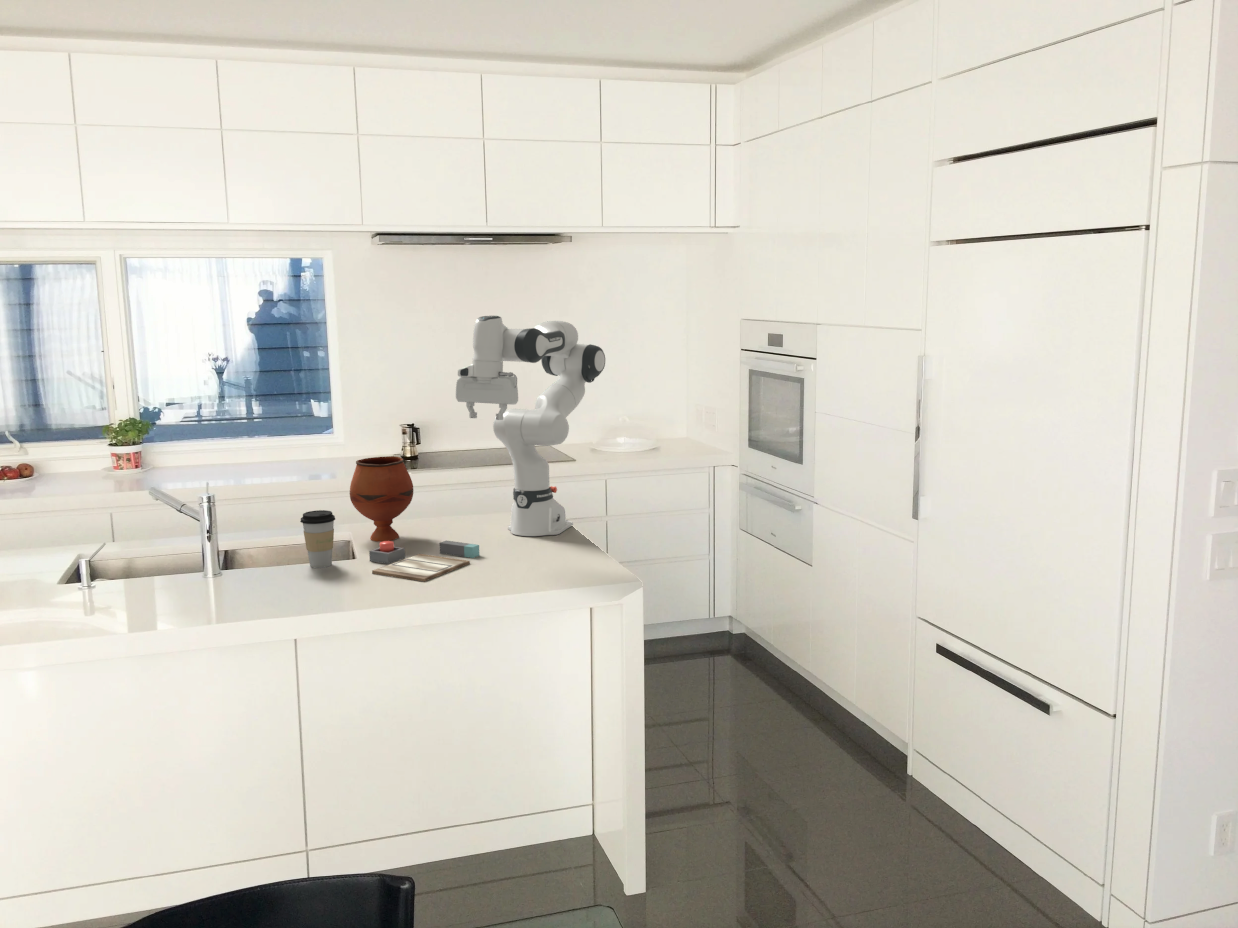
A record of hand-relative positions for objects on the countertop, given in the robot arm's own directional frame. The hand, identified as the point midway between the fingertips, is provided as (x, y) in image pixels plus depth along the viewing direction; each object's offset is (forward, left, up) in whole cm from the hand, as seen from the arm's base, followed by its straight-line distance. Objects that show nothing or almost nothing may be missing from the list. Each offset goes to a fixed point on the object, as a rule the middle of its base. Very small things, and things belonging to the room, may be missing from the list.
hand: (486, 419), depth 294 cm
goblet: (+5, -37, -39) cm, 54 cm away
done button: (+24, -19, -36) cm, 48 cm away
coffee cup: (+37, -32, -39) cm, 62 cm away
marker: (+10, -4, -39) cm, 40 cm away
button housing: (+24, -19, -39) cm, 49 cm away
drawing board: (+27, -4, -39) cm, 47 cm away
